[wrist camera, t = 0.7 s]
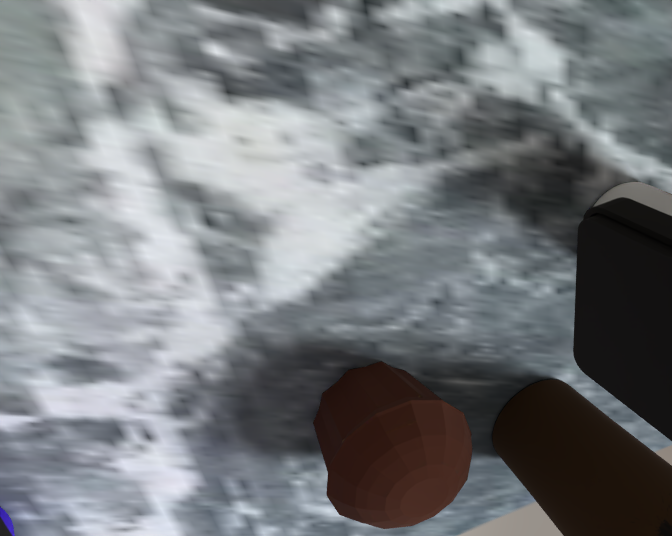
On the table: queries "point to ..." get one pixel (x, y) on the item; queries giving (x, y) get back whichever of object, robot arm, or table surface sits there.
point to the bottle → (7, 521)
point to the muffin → (390, 447)
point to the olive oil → (583, 465)
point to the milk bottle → (640, 196)
